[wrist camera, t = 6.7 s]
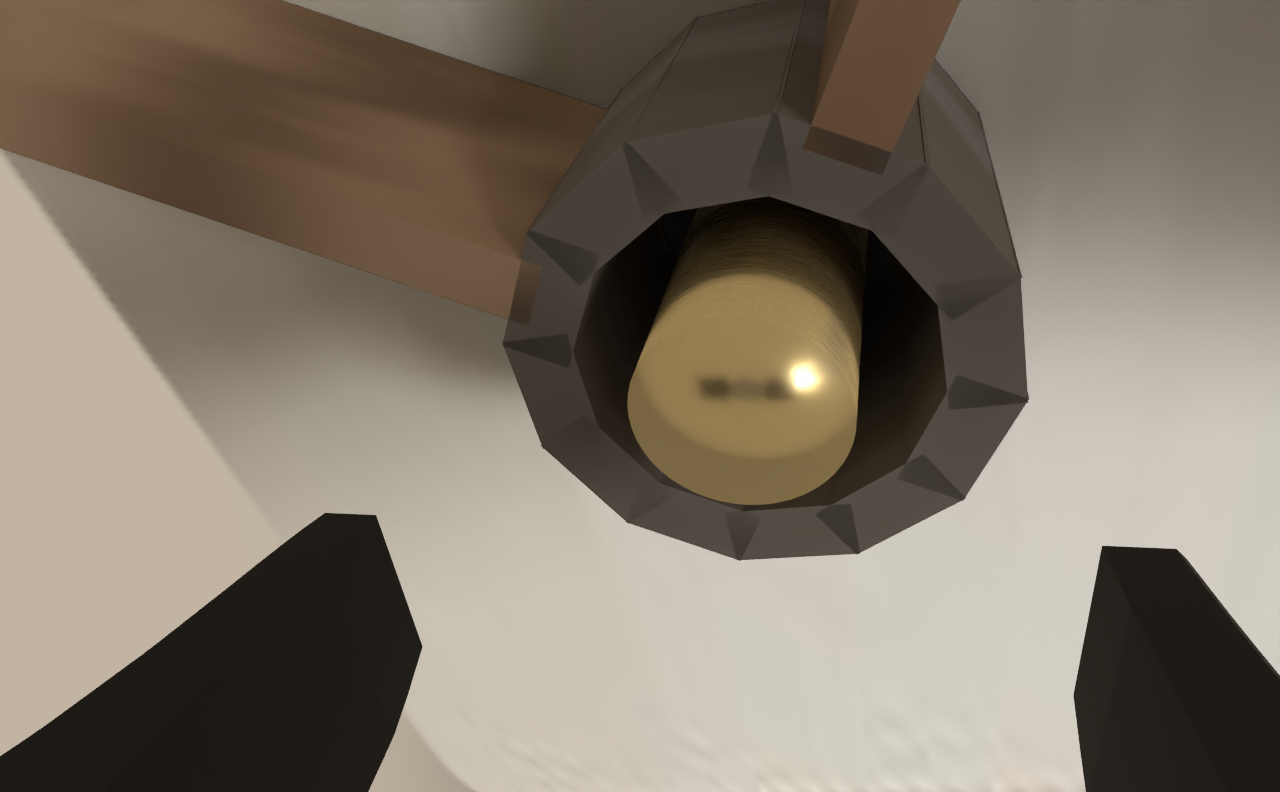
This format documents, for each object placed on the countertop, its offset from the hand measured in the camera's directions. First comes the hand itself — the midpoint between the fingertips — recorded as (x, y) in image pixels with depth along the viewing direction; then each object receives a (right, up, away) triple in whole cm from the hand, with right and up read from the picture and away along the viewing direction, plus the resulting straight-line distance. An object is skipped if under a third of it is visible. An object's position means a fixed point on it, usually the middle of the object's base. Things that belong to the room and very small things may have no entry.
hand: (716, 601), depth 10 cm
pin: (+2, +6, +8) cm, 10 cm away
